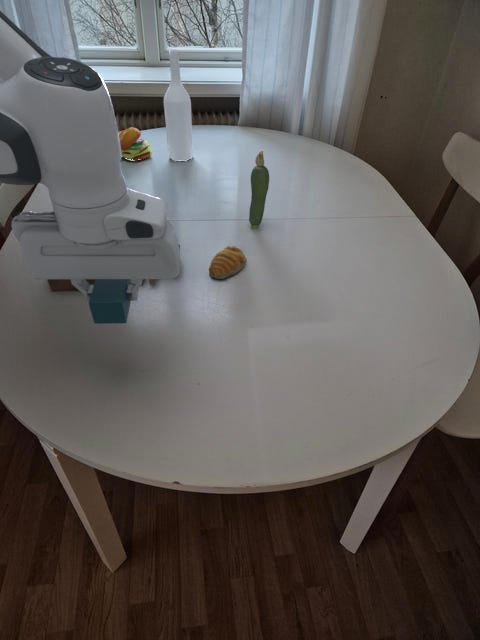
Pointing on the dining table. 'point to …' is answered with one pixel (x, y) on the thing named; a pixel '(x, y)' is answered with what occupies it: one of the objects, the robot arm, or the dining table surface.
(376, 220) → the dining table surface
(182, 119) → the bottle
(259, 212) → the vegetable
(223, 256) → the pastry
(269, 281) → the dining table surface
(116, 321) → the teal block
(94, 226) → the robot arm
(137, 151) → the cheeseburger
